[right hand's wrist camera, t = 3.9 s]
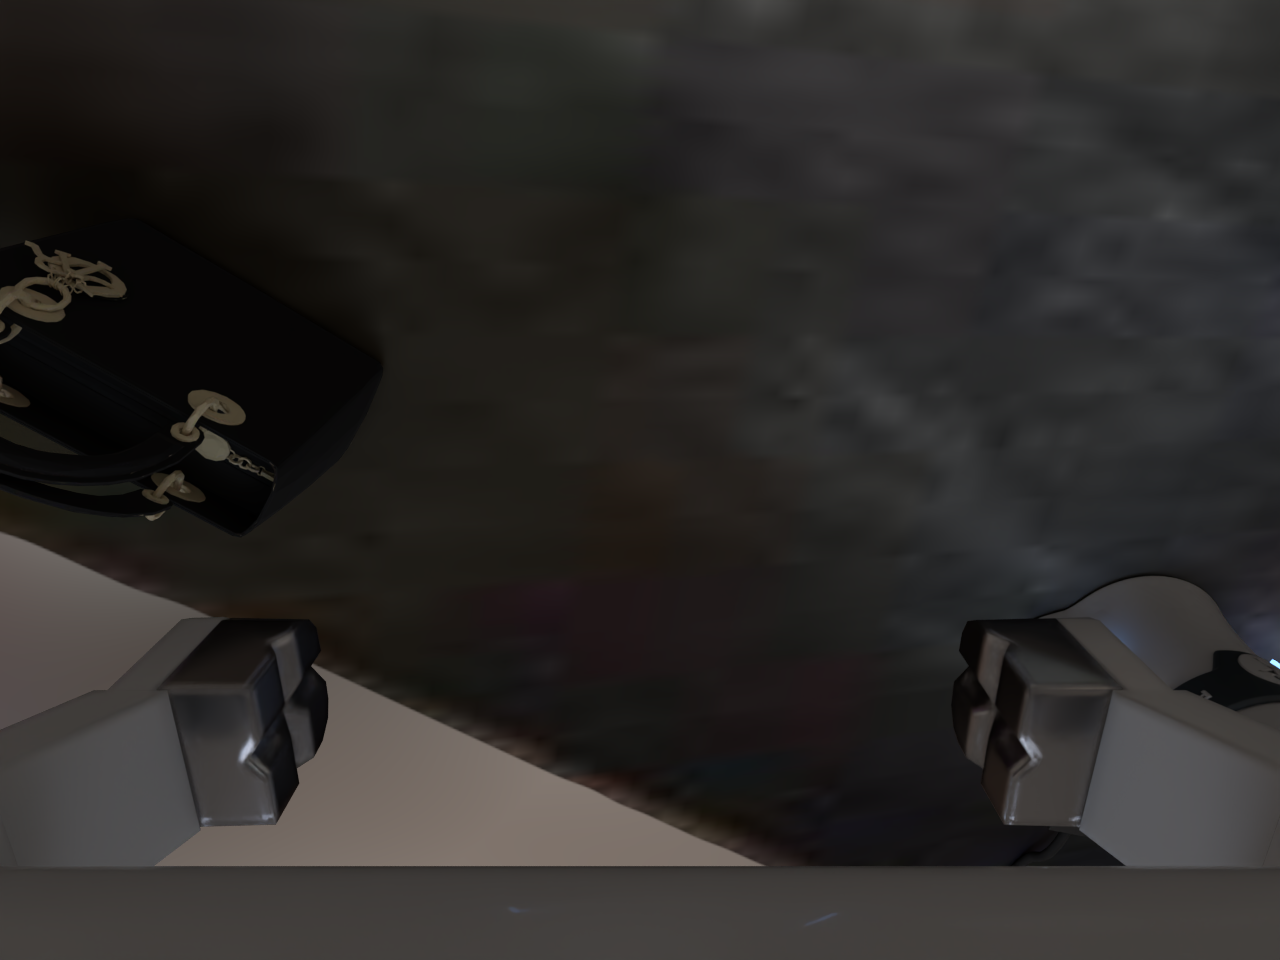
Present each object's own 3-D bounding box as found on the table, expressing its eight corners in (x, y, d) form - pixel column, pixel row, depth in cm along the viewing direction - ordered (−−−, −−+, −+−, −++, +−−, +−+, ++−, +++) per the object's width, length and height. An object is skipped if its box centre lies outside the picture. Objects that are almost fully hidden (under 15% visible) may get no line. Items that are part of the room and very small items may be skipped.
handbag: (401, 370, 58) (237, 503, 34) (345, 471, 60) (157, 659, 37) (121, 203, 54) (-282, 225, 30) (74, 319, 56) (-328, 422, 33)
